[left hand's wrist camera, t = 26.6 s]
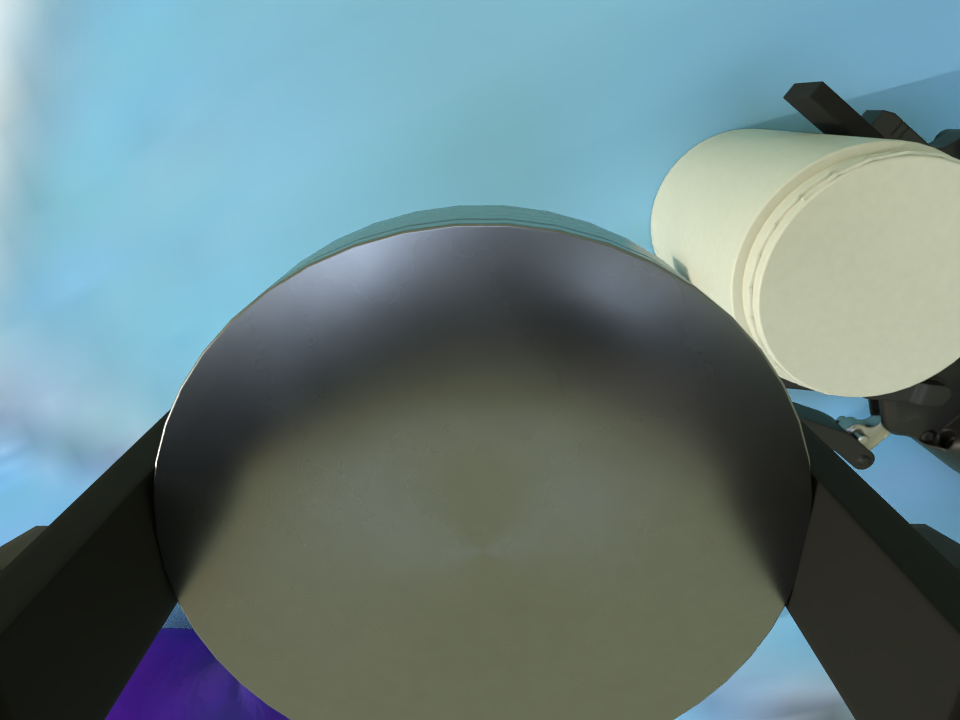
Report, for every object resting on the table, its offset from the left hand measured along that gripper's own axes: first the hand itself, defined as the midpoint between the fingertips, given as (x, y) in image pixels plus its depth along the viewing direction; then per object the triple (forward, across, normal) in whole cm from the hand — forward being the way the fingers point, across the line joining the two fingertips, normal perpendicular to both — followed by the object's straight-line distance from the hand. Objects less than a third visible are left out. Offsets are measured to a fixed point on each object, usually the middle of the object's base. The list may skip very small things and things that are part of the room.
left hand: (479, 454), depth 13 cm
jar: (+26, +15, +1) cm, 30 cm away
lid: (-3, 0, 0) cm, 3 cm away
